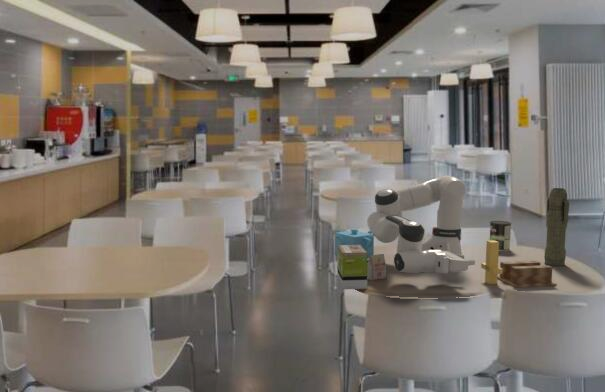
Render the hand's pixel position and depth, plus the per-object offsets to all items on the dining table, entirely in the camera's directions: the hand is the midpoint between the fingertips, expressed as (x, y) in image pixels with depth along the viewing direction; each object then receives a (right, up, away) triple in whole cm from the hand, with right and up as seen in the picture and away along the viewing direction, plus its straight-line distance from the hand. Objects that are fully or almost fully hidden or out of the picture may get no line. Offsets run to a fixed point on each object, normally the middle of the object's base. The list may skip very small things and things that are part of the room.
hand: (468, 259), depth 242 cm
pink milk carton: (-36, -9, +9) cm, 38 cm away
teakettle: (-43, -5, +45) cm, 62 cm away
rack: (+25, -9, +6) cm, 27 cm away
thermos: (+50, -6, +37) cm, 62 cm away
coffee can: (+35, -2, +71) cm, 79 cm away
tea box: (-47, -10, -1) cm, 48 cm away
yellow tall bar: (+10, -10, +3) cm, 14 cm away
